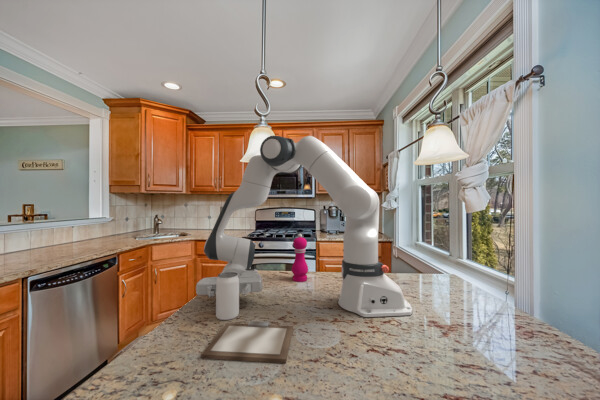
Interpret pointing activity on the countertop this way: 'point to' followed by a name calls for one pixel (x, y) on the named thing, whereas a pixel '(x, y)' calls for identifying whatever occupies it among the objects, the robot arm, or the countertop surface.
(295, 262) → the pepper mill
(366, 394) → the countertop surface
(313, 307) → the countertop surface
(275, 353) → the clipboard
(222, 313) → the can
